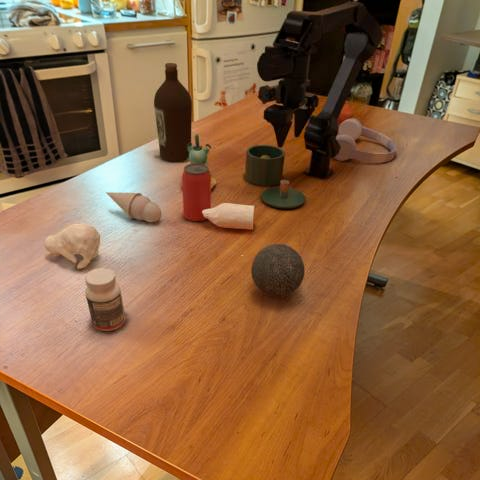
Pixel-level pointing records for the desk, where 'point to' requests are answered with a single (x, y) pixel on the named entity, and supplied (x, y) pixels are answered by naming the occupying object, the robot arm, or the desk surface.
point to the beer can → (196, 191)
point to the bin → (264, 165)
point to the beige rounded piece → (75, 243)
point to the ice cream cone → (137, 206)
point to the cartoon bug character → (199, 155)
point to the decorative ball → (277, 270)
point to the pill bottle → (104, 299)
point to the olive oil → (173, 117)
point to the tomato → (345, 113)
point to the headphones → (353, 131)
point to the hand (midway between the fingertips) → (288, 142)
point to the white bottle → (231, 216)
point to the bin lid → (283, 196)
